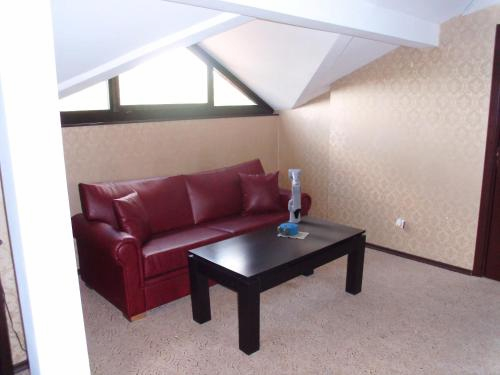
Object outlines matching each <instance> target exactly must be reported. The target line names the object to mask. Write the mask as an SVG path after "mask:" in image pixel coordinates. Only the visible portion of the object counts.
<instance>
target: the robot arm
mask: <svg viewBox="0 0 500 375" xmlns="http://www.w3.org/2000/svg"><path fill="white" fill-rule="evenodd" d="M301 178H302V169H301V168H289V169H288V179H289V180H291V199H290V200H289V201H288V205H287V206H288V211H289V220H288V223H294V224H298V223H299V222H301V221H302V219H301V211H302V204H301V201H302V200H301V196H302V194H301V193H302V185H301V181H300V179H301Z"/></svg>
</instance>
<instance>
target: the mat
mask: <svg viewBox="0 0 500 375" xmlns="http://www.w3.org/2000/svg"><path fill="white" fill-rule="evenodd" d="M308 235H310V232H305V231H304V232H302V231H298V234H296V235H291V236H287V235H282V234H281V233H278V234H277V237H280V236H282V238H288V237H290V238H289V239H296V238H298V240H305V238H307V236H308Z"/></svg>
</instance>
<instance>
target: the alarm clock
mask: <svg viewBox="0 0 500 375" xmlns="http://www.w3.org/2000/svg"><path fill="white" fill-rule="evenodd" d="M276 231H277V233H278V234H280V233H281V234H282V235H287V236H291V235H296V234H298V232H299V225H298V223H292V222H286V223H281V224H280V225H279V226H277V229H276Z"/></svg>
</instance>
